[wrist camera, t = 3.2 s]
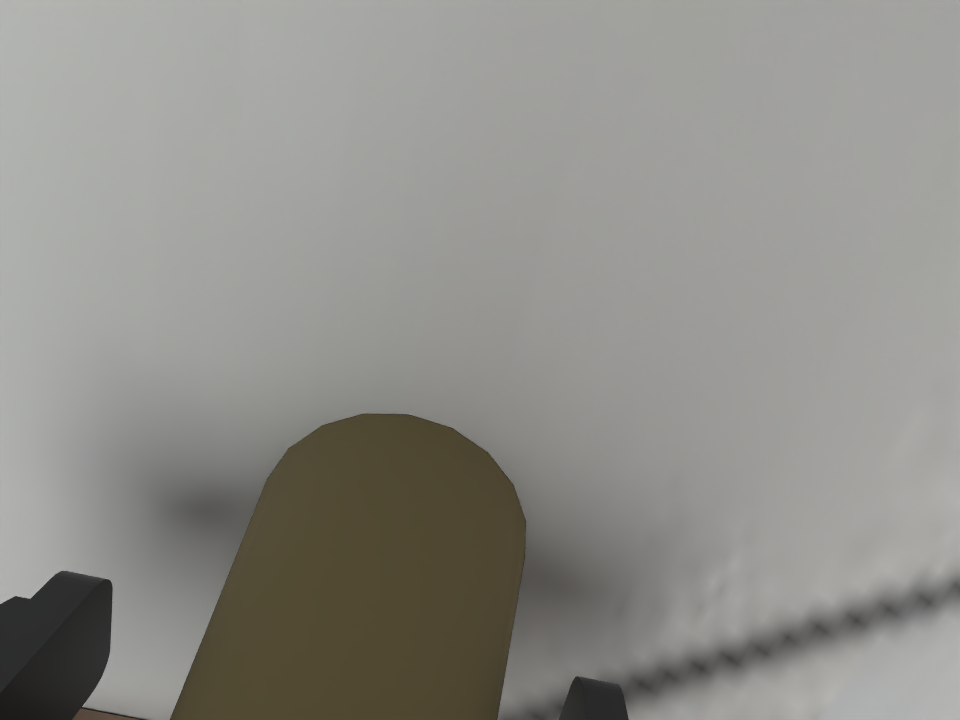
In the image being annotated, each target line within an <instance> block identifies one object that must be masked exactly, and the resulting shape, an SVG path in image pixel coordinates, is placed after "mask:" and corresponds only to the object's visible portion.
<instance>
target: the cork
mask: <svg viewBox="0 0 960 720" xmlns="http://www.w3.org/2000/svg"><path fill="white" fill-rule="evenodd" d="M525 532H526V520H525V517H524V514H523V511H522V508H521V506H520V503H519V500H518V497H517V494H516V491H515V488H514V485H513V484H512V483H511V481H510V480H509V479H508V478H507V476H506V475H505V474H504V472H503V471H502V470H501V469H500V467H499V466H498V465H497V464H496V462H495V461H494V460H493V459H492V457H491V456H490V455H489V453H488V452H486V451H485V450H483V449H482V448H480V447H479V446H477V445H476V444H474V443H473V442H471V441H470V440H468V439H467V438H465V437H464V436H462V435H461V434H459V433H458V432H456V431H455V430H453V429H452V428H449V427H446V426H443V425H440V424H436V423H433V422H430V421H427V420H424V419H420V418H417V417H414V416H411V415H395V414H361V415H358V416H354V417H351V418H347V419H344V420H340V421H337V422H333V423H330V424H326V425H323V426H321V427H320V428H318V429H317V430H315V431H314V432H312V433H311V434H309V435H308V436H306V437H305V438H303V439H302V440H301V441H299V442H298V443H296V444H295V445H293V446H292V447H290V448H289V449H288V450H287V452H286V453H285V455H284V456H283V457H282V459H281V460H280V462H279V463H278V465H277V466H276V467H275V469H274V470H273V472H272V473H271V474H270V476H269V477H268V479H267V481H266V483H265V486H264V488H263V491H262V493H261V496H260V498H259V500H258V503H257V505H256V508H255V510H254V513H253V515H252V518H251V520H250V523H249V525H248V528H247V530H246V533H245V535H244V538H243V540H242V543H241V545H240V548H239V550H238V552H237V555H236V557H235V560H234V562H233V565H232V567H231V570H230V572H229V575H228V577H227V580H226V582H225V585H224V587H223V590H222V592H221V595H220V597H219V600H218V602H217V604H216V607H215V609H214V612H213V614H212V617H211V619H210V622H209V624H208V627H207V629H206V632H205V634H204V637H203V639H202V642H201V644H200V647H199V649H198V652H197V654H196V656H195V659H194V661H193V664H192V666H191V669H190V671H189V674H188V676H187V679H186V681H185V684H184V686H183V689H182V691H181V694H180V696H179V699H178V701H177V703H176V706H175V708H174V711H173V713H172V716H171V718H170V720H497V718H498V712H499V706H500V700H501V694H502V688H503V682H504V676H505V671H506V665H507V659H508V653H509V647H510V641H511V635H512V629H513V623H514V617H515V612H516V606H517V600H518V594H519V588H520V582H521V576H522V570H523V564H524V558H525Z"/></svg>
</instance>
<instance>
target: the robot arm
mask: <svg viewBox="0 0 960 720" xmlns="http://www.w3.org/2000/svg"><path fill="white" fill-rule="evenodd" d="M112 592H113V589H112V583H111V581H110V580H108V579H103V578H98V577H93V576H88V575H83V574H78V573H73V572H68V571H61V572H59V573H57V574H56V575H54V576H53V577H52V578H51V579H50V580H49V581H48V582H47V583H46V584H45V585H44V586H43V587H42V588H41V589H40V590H39V591H38V592H37V593H36V594H35V595H34V596H33V597H32V598H31V599H27V598H22V597H17V596H15V597H13V598H11V599H9V600H7V601H5V602H4V603H2V604H0V720H72V719H73V718H74V717H75V715H76V714H77V713H78V711H79V710H80V708H81V707H82V706H83V704H84V703H85V702H86V700H87V699H88V698H89V696H90V695H91V693H92V692H93V691H94V689H95V688H96V686H97V684H98V683H99V681H100V679H101V677H102V674H103V672H104V670H105V667H106V664H107V661H108V658H109V653H110V640H111V616H112ZM559 720H628V715H627V710H626V706H625V701H624V696H623V692H622V689H621V687H620V686H619V685H618V684H613V683H608V682H603V681H598V680H593V679H588V678H583V677H578V676H577V677H575V678H574V680H573V682H572V684H571V687H570V690H569V693H568V695H567V698H566V701H565V704H564V707H563V710H562V713H561V715H560V718H559Z"/></svg>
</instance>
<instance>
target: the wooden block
mask: <svg viewBox="0 0 960 720" xmlns="http://www.w3.org/2000/svg"><path fill="white" fill-rule="evenodd" d="M72 720H138V719H133V718H128V717H123V716H118V715H113V714H107V713H102V712H97V711H92V710H87V709H82V708H80V710H79V711H78V713H77V714H76V715H75V717H74V718H73V719H72Z"/></svg>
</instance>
